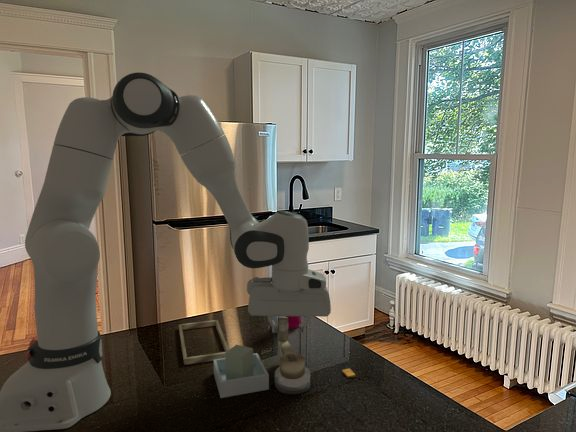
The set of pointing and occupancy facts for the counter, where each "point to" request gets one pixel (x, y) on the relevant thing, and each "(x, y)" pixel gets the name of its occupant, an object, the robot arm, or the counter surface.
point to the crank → (288, 353)
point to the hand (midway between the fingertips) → (288, 331)
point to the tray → (241, 379)
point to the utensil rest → (202, 357)
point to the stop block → (239, 362)
